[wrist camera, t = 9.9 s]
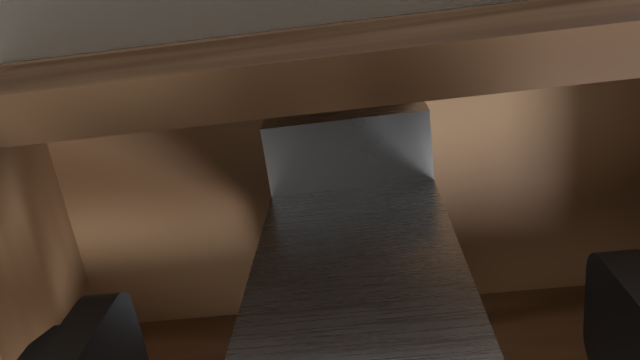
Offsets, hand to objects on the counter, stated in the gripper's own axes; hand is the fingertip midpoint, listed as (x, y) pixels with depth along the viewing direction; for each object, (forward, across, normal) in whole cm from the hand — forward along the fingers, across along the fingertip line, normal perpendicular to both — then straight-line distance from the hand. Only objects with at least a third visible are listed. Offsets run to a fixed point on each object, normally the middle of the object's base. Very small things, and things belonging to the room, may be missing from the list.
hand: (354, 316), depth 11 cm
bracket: (+6, 0, 0) cm, 6 cm away
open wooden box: (+7, 0, 0) cm, 7 cm away
